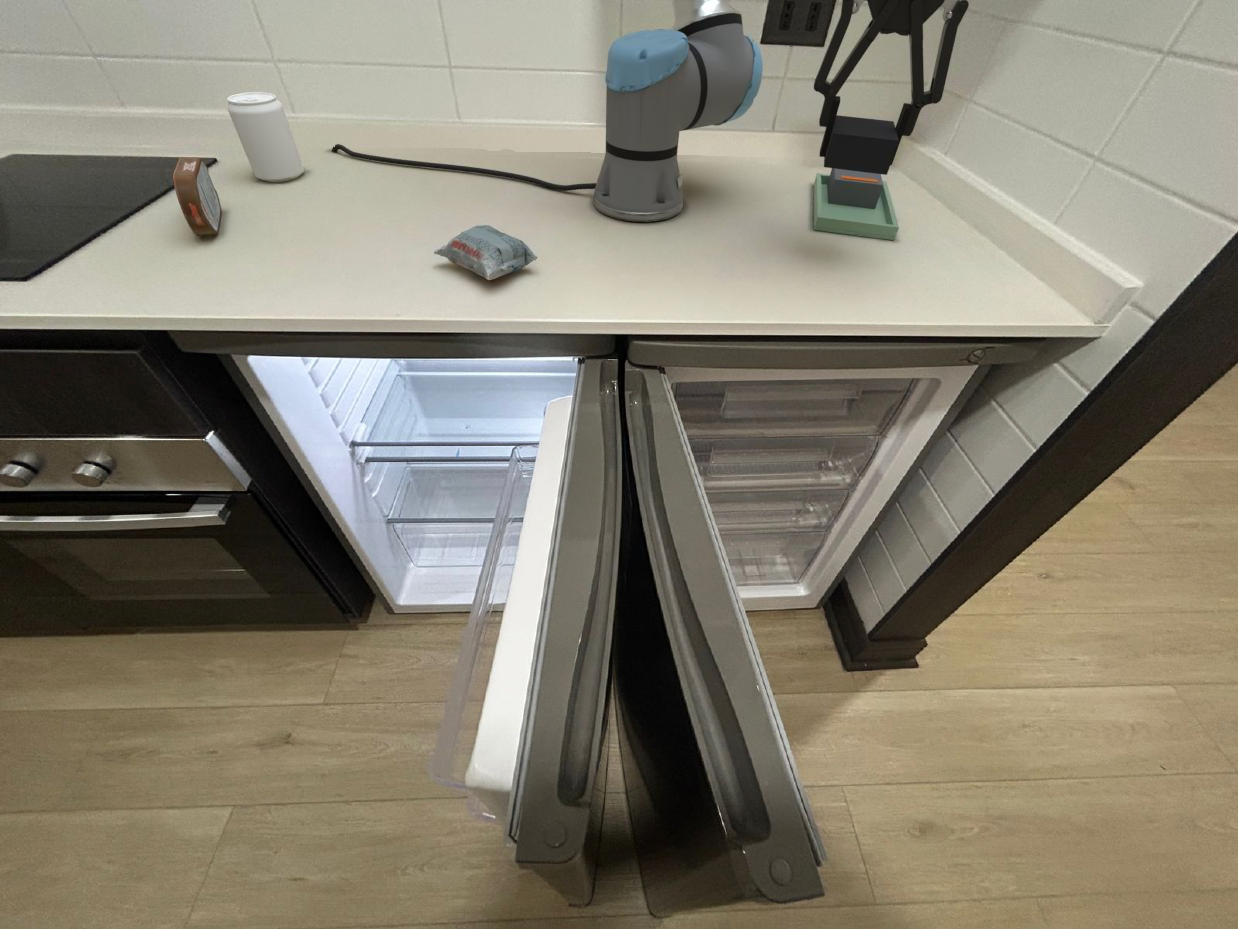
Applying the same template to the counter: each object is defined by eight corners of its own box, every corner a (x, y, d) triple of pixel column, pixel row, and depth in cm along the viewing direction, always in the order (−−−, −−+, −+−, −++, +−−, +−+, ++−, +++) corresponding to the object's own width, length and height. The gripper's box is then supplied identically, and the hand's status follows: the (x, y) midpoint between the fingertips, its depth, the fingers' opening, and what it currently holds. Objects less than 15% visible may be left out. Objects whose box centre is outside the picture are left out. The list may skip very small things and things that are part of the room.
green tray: (893, 240, 88) (899, 227, 87) (813, 229, 90) (817, 216, 89) (882, 193, 103) (886, 181, 102) (813, 184, 105) (816, 172, 103)
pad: (828, 203, 97) (835, 178, 94) (827, 184, 104) (834, 160, 101) (875, 209, 96) (884, 183, 93) (871, 190, 102) (879, 165, 99)
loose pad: (823, 167, 73) (833, 132, 70) (824, 146, 79) (833, 114, 76) (886, 175, 71) (899, 140, 68) (882, 153, 78) (893, 121, 75)
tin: (205, 207, 88) (177, 149, 82) (227, 204, 89) (201, 147, 83) (197, 246, 79) (164, 183, 73) (222, 243, 80) (191, 181, 74)
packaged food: (491, 295, 72) (486, 258, 68) (435, 265, 77) (428, 229, 74) (539, 273, 77) (537, 238, 73) (484, 246, 82) (480, 212, 78)
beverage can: (315, 174, 100) (289, 96, 91) (274, 187, 95) (242, 106, 86) (287, 164, 103) (259, 88, 94) (246, 176, 98) (212, 97, 89)
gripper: (827, -81, 58) (775, 156, 74) (1042, -70, 55) (939, 176, 71) (828, -82, 63) (779, 140, 79) (1025, -72, 60) (932, 158, 76)
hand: (854, 157), depth 75 cm, fingers closed on loose pad, 8 cm apart
